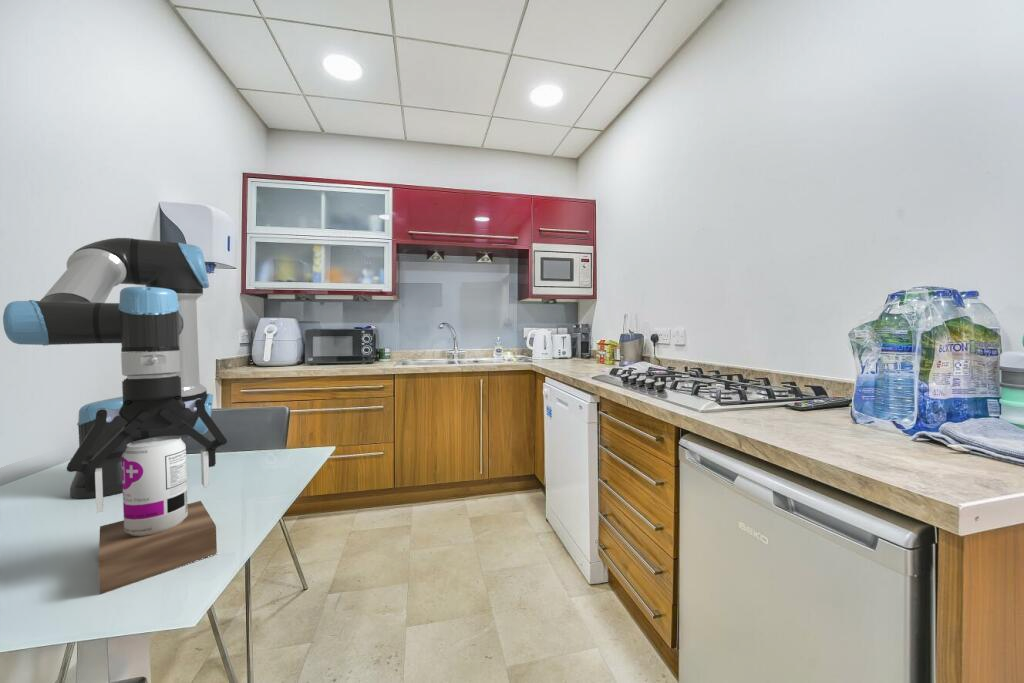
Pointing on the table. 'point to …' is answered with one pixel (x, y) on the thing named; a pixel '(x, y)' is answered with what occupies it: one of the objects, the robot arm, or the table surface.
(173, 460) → the supplement can
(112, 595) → the table surface
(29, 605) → the table surface
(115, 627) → the table surface
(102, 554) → the walnut base
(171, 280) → the robot arm
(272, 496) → the table surface
